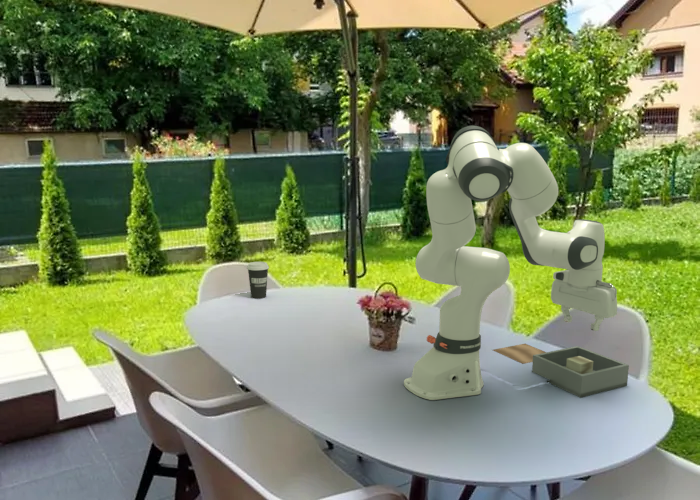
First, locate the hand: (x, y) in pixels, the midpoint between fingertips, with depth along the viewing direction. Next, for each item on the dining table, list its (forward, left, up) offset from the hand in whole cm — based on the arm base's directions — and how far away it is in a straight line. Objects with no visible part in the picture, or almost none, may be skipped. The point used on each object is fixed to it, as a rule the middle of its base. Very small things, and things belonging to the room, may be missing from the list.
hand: (580, 325), depth 168 cm
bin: (0, 0, -16) cm, 16 cm away
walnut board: (0, +22, -16) cm, 27 cm away
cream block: (0, 0, -15) cm, 15 cm away
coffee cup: (-51, +132, -16) cm, 142 cm away
